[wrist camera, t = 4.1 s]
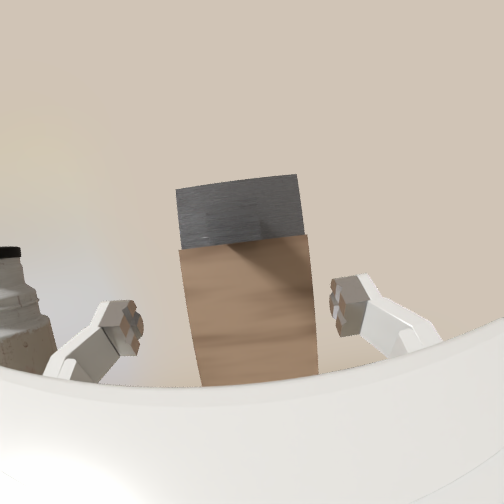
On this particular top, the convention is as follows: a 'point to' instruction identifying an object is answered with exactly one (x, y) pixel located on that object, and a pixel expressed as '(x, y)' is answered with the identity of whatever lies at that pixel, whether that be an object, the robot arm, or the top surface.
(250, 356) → the pedestal
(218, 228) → the brushed metal plate
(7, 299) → the thermos bottle
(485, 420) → the robot arm
